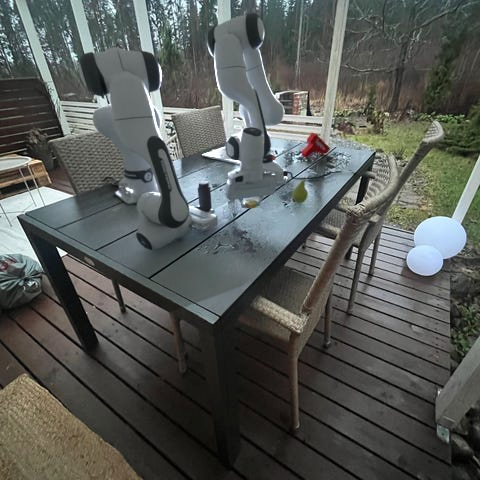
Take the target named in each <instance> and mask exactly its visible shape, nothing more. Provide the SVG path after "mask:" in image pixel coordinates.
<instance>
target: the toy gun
mask: <svg viewBox="0 0 480 480" xmlns="http://www.w3.org/2000/svg"><path fill="white" fill-rule="evenodd" d="M306 142H307V143H308V144H307V145H306V146H305V147H304V148H303V149H302V150H301V151H300V153H301V157H303V156H304V157H303V158H305V159H309V157H310V156H311V155H312V154H313V153H314V154H319V155H321V156H323V155H322V154H323V153H327V154H328V153H329V151H330V147H329V145H328V144H326V142H325V141H324V140H323V139H322V138H321V137H320V136H319V135H318V134H317V133H315V132H311V133H310V134H309V135H308V137H307V138H306ZM318 152H319V153H318ZM320 153H322V154H320ZM308 156H309V157H308Z"/></svg>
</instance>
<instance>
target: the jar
mask: <svg viewBox="0 0 480 480" xmlns="http://www.w3.org/2000/svg"><path fill="white" fill-rule="evenodd" d="M197 197H198V205H199V207H200V210H202V211H204V212H208V213H209V211H208V210H209V209H213V206H212V205H213V204H212V191H211V185H210V182H209V181H208V180H200V181H199V182H198V185H197Z"/></svg>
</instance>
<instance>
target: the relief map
mask: <svg viewBox="0 0 480 480" xmlns="http://www.w3.org/2000/svg"><path fill="white" fill-rule="evenodd" d="M201 157H204V158H208V159H213V160H217V161H222V162H226V163H231V164H234V165H235V164H236V165H239V166H240V161H239V160H232V159H231V158H230V157H229V156H228V155H227V153H226V146H223V147H219V148H217V149H212V150H211V151H209V152H205V153H202V154H201Z"/></svg>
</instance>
